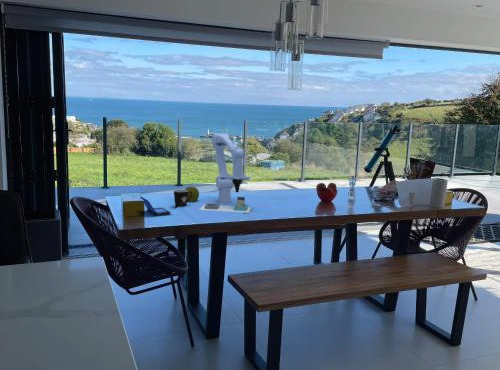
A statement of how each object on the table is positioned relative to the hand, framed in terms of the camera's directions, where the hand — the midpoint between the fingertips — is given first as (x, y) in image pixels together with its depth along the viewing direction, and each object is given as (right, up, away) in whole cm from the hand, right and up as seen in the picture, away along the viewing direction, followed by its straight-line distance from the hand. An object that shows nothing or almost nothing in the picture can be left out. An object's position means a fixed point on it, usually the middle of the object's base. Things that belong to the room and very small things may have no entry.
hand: (237, 192), depth 274 cm
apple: (-29, -7, +17) cm, 35 cm away
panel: (-7, -11, -1) cm, 13 cm away
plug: (+2, -10, -3) cm, 11 cm away
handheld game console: (-46, -12, -13) cm, 49 cm away
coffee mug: (-32, -9, +4) cm, 34 cm away
